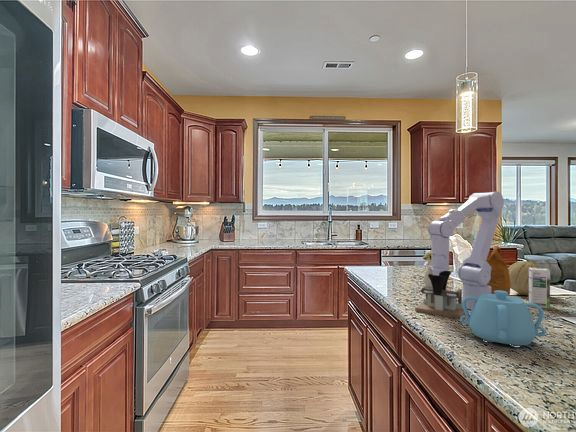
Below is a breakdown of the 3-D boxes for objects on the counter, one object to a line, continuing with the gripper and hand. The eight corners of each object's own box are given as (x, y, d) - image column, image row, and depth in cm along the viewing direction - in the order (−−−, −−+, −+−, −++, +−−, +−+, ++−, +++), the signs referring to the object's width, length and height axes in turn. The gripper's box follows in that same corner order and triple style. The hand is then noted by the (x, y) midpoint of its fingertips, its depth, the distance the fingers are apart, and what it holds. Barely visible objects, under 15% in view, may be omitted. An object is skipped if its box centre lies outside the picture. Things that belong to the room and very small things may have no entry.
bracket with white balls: (458, 308, 111) (458, 293, 111) (421, 302, 118) (421, 288, 118) (461, 303, 118) (461, 289, 118) (426, 298, 125) (426, 284, 125)
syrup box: (531, 306, 124) (531, 268, 124) (528, 303, 129) (528, 266, 129) (550, 309, 122) (550, 270, 121) (546, 305, 127) (546, 267, 127)
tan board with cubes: (461, 318, 109) (462, 300, 109) (415, 310, 118) (415, 293, 118) (466, 310, 119) (467, 293, 119) (423, 303, 128) (423, 287, 128)
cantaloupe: (498, 292, 147) (498, 259, 147) (518, 289, 153) (518, 257, 153) (534, 300, 133) (534, 263, 133) (554, 297, 140) (555, 261, 140)
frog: (441, 296, 139) (441, 253, 139) (414, 290, 150) (414, 250, 150) (456, 293, 146) (456, 251, 146) (429, 287, 156) (430, 249, 156)
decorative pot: (504, 328, 101) (504, 284, 101) (553, 349, 85) (553, 297, 85) (455, 330, 99) (455, 285, 99) (496, 352, 83) (496, 299, 83)
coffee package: (510, 299, 135) (510, 246, 135) (510, 306, 125) (511, 248, 125) (482, 295, 141) (482, 244, 141) (480, 302, 130) (480, 247, 130)
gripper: (432, 251, 125) (432, 287, 125) (423, 255, 113) (422, 295, 113) (453, 253, 120) (452, 290, 121) (445, 257, 109) (445, 298, 109)
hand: (439, 292), depth 116 cm, fingers open, 7 cm apart
